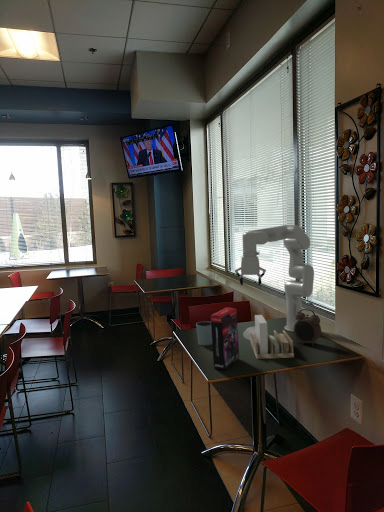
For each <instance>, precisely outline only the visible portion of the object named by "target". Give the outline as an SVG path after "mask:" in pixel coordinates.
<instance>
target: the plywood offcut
mask: <svg viewBox="0 0 384 512" xmlns="http://www.w3.org/2000/svg"><path fill="white" fill-rule="evenodd" d="M277 334H278V335H279V337H280V338H281V340H282V341H283V353H289V342H288V341H287V340H286V338H285V337H284V336H283V333H277Z"/></svg>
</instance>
